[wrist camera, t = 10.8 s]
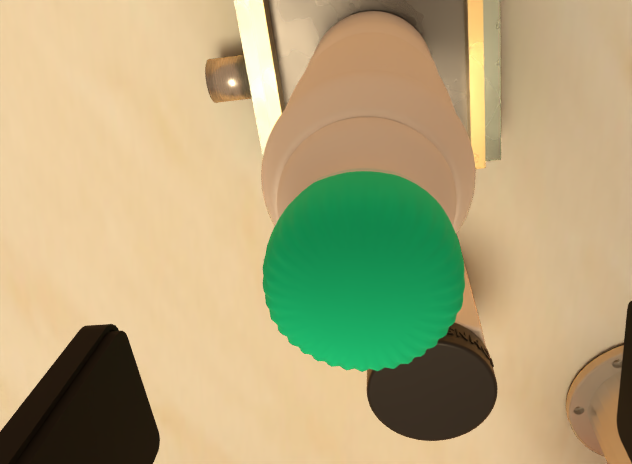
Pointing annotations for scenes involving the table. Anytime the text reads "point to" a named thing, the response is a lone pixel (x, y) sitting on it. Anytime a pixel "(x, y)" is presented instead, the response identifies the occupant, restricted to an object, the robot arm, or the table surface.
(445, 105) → the water bottle
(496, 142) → the gearbox
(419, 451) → the table surface
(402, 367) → the jar
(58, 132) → the table surface
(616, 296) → the table surface
